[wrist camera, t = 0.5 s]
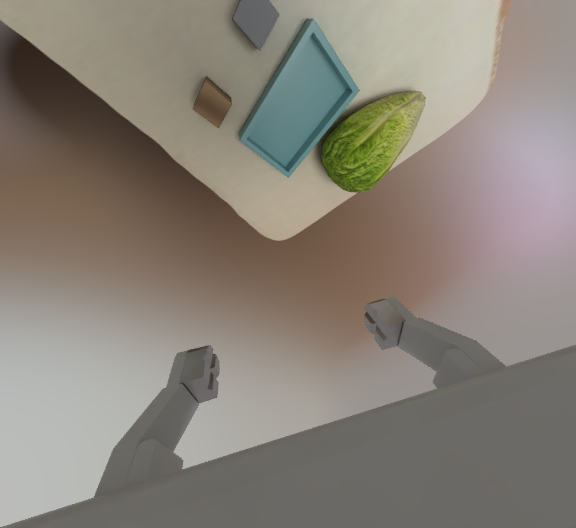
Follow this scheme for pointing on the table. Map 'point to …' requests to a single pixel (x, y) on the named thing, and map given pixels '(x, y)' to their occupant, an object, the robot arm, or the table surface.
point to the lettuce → (371, 140)
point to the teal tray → (299, 101)
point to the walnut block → (212, 103)
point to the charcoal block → (255, 20)
